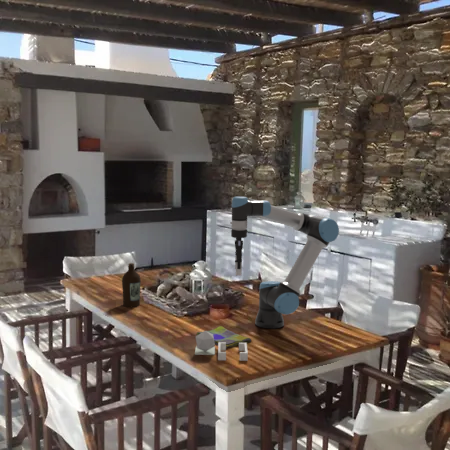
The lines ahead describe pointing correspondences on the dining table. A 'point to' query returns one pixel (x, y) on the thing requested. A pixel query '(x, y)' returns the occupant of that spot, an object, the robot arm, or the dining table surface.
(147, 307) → the dining table surface
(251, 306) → the dining table surface
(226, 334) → the dish towel
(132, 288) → the olive oil
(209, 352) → the mat
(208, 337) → the die
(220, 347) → the pocket
